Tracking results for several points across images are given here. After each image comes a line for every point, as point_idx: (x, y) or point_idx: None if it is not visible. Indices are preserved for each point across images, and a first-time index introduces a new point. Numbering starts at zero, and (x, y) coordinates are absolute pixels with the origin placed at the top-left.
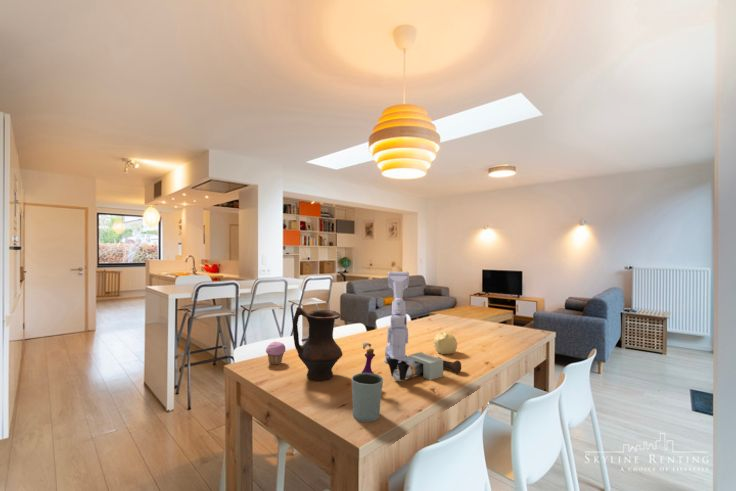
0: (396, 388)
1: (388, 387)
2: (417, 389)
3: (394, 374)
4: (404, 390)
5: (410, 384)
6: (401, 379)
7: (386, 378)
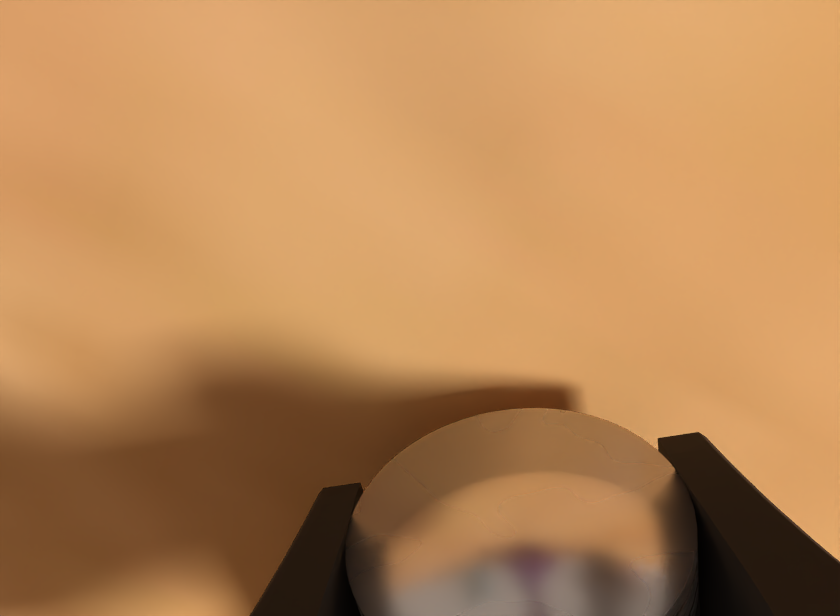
0: (158, 233)
1: (280, 71)
2: (15, 553)
3: (575, 502)
4: (4, 336)
5: (277, 560)
6: (311, 511)
7: (833, 312)
